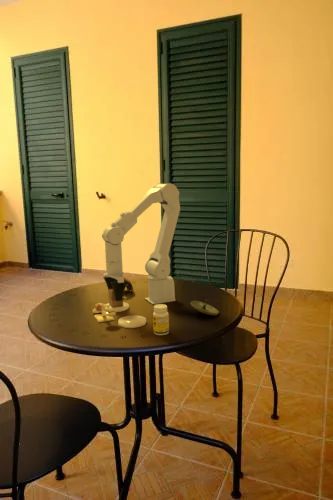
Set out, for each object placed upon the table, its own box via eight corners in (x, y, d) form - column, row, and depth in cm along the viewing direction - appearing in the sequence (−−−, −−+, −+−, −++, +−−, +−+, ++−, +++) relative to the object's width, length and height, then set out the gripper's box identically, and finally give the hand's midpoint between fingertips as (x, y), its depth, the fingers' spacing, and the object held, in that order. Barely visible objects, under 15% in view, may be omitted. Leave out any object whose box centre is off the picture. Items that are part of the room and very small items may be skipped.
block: (119, 303, 150) (118, 287, 149) (123, 306, 146) (122, 290, 145) (109, 304, 148) (108, 288, 147) (112, 307, 144) (111, 291, 143)
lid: (188, 309, 144) (188, 295, 144) (216, 308, 145) (216, 294, 144) (191, 319, 134) (191, 304, 133) (221, 318, 134) (221, 303, 133)
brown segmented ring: (136, 296, 163) (126, 281, 159) (115, 307, 163) (105, 292, 160) (134, 281, 174) (124, 267, 170) (114, 291, 174) (105, 277, 171)
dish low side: (124, 303, 153) (124, 300, 153) (132, 309, 145) (132, 307, 145) (100, 306, 149) (100, 304, 149) (107, 313, 141) (107, 311, 141)
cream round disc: (140, 316, 138) (140, 313, 138) (150, 324, 130) (150, 321, 130) (114, 320, 134) (114, 318, 134) (123, 329, 126) (123, 326, 126)
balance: (104, 310, 145) (103, 293, 144) (118, 325, 130) (117, 306, 129) (90, 312, 143) (89, 295, 142) (103, 327, 128) (102, 308, 127)
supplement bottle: (153, 330, 125) (152, 303, 124) (168, 329, 126) (167, 303, 124) (153, 336, 121) (153, 308, 119) (169, 335, 121) (169, 308, 120)
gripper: (97, 258, 149) (99, 294, 151) (108, 265, 136) (111, 304, 138) (116, 256, 152) (117, 291, 154) (129, 263, 139) (130, 301, 141)
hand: (115, 297), depth 147 cm, fingers open, 7 cm apart
